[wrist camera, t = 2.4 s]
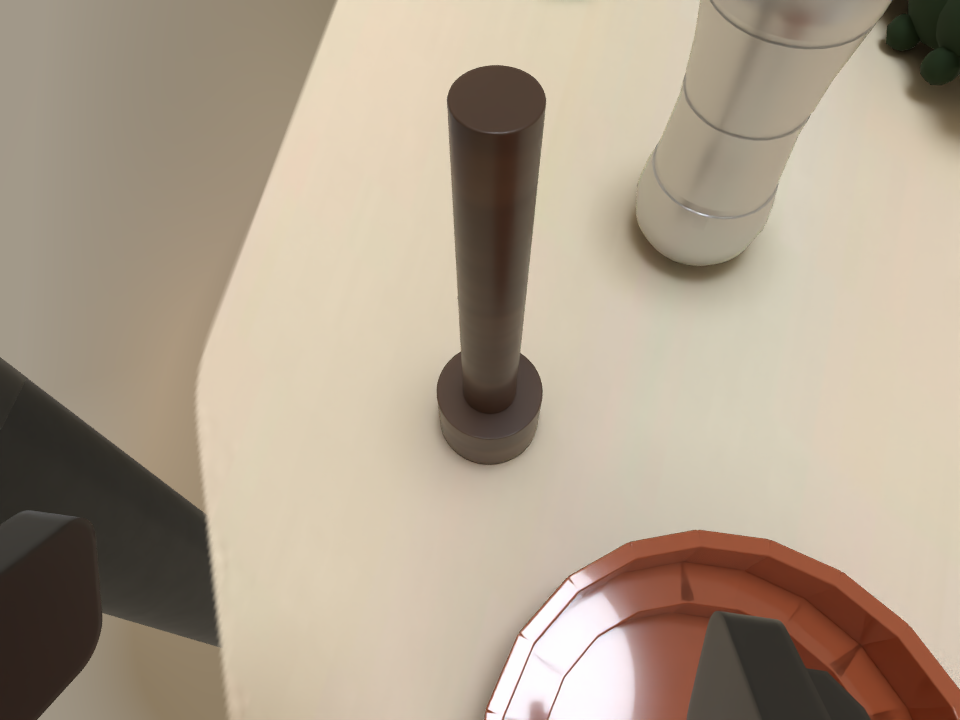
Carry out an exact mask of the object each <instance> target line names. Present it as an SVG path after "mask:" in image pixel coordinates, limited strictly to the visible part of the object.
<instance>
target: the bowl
mask: <svg viewBox="0 0 960 720" xmlns="http://www.w3.org/2000/svg"><path fill="white" fill-rule="evenodd" d="M715 611H722V612H729V613H736V614H743V615H750V616H757V617H764V618H771V619H778V620H780V621H781V622H782V623H783V624H784V626H785V627H786V629H787V631H788V633H789V635H790V637H791V639H792V641H793V643H794V645H795V647H796V649H797V651H798V653H799V655H800V657H801V659H802V661H803V663H804V665H805V667H806V668H808V669H815V670H822V671H827V672H828V673H829V674H830V675H831V676H832V677H833V678H834V679H835V680H836V681H837V682H838V683H839V684H840V685H841V686H842V687H843V688H844V689H845V690H846V691H847V692H848V693H849V694H851V695H852V696H853V697H854V698H855V699H856V700H857V701H858V702H859V703H860V704H861V705H862V706H863V707H864V708H865V710H866V712H867V713H868V715H869V717H870V719H871V720H960V689H959V688H958V687H957V686H956V684H955V683H954V682H953V680H952V679H951V678H950V677H949V675H948V674H947V673H946V671H945V670H944V669H943V668H942V666H941V665H940V664H939V662H938V661H937V660H936V659H935V657H934V656H933V655H932V653H931V652H930V651H929V650H928V648H927V647H926V646H925V644H924V643H923V642H922V641H921V639H920V638H919V637H918V635H917V634H916V633H915V632H914V630H913V629H912V628H911V627H910V626H909V625H908V624H907V623H906V622H905V621H904V620H902V619H901V618H900V617H899V616H897V615H896V614H895V613H894V612H892V611H891V610H890V609H889V608H887V607H886V606H885V605H884V604H882V603H881V602H880V601H879V600H877V599H876V598H875V597H874V596H872V595H871V594H870V593H868V592H867V591H866V590H865V589H863V588H862V587H861V586H860V585H858V584H857V583H856V582H855V581H853V580H852V579H851V578H850V577H848V576H847V575H846V574H845V573H843V572H841V571H840V570H837V569H835V568H833V567H831V566H828V565H826V564H824V563H822V562H819V561H817V560H815V559H813V558H810V557H808V556H806V555H804V554H801V553H799V552H797V551H795V550H792V549H790V548H788V547H786V546H783V545H781V544H779V543H777V542H774V541H772V540H768V539H764V538H756V537H749V536H742V535H734V534H727V533H719V532H712V531H705V530H698V531H697V530H691V531H686V532H680V533H675V534H670V535H664V536H659V537H653V538H648V539H642V540H637V541H631V542H629V543H626V544H624V545H622V546H621V547H619V548H617V549H615V550H614V551H612V552H610V553H608V554H607V555H605V556H603V557H601V558H600V559H598V560H596V561H594V562H593V563H591V564H589V565H587V566H586V567H584V568H582V569H580V570H579V571H577V572H575V573H573V574H572V575H570V576H569V577H568V578H566V579H565V580H564V581H563V583H562V584H561V585H560V586H559V587H558V588H557V589H556V591H555V592H554V593H553V594H552V595H551V596H550V597H549V599H548V600H547V601H546V602H545V603H544V604H543V605H542V607H541V608H540V609H539V610H538V611H537V612H536V613H535V615H534V616H533V617H532V618H531V619H530V620H529V621H528V623H527V624H526V625H525V626H524V627H523V628H522V629H521V631H520V632H519V634H518V635H517V637H516V640H515V642H514V644H513V647H512V649H511V651H510V654H509V656H508V658H507V661H506V663H505V665H504V668H503V670H502V672H501V675H500V677H499V679H498V682H497V684H496V686H495V689H494V691H493V693H492V695H491V698H490V700H489V702H488V705H487V707H486V710H485V715H484V720H687V712H688V707H689V703H690V699H691V694H692V690H693V686H694V681H695V677H696V673H697V668H698V664H699V660H700V656H701V651H702V647H703V643H704V638H705V634H706V630H707V626H708V622H709V620H710V617H711V615H712V614H713V613H714V612H715Z"/></svg>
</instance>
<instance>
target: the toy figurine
mask: <svg viewBox="0 0 960 720" xmlns="http://www.w3.org/2000/svg"><path fill="white" fill-rule="evenodd" d="M920 41H921V42H922V43H924V44H926V45H927V46H929V47H931V48H933V49H935V50H933V51H931V52H929V53H928V55H927V56H926V57H925V58H924V59H923V61H922V63H921V65H920V74H921V75H922V77H923V78H924V79H925V80H926V81H927V82H928V83H929V84H930V85H943V84H945V83H948V82H950V81H952V80H953V79H955V78H956V77H957V76H958V75H960V0H909V1H908V14H901V15H899V16H897V17H895V18H894V20H893V21H892V22H891V23H890V24H889V25H888V26H887V35H886V44H888V45H889V46H890V47H892V48H893V49H896V50H899V51H902V50H909V49H912V48H913V47H915V46H916V45H917V44H918V43H919V42H920Z"/></svg>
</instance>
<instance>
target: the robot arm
mask: <svg viewBox="0 0 960 720" xmlns="http://www.w3.org/2000/svg"><path fill="white" fill-rule="evenodd" d="M101 627H102V606H101V594H100V581H99V569H98V556H97V544H96V534H95V530H94V527H93V525H92V523H91V522H90V521H89V520H87V519H85V518H79V517H72V516H65V515H58V514H51V513H44V512H37V511H30V510H28V511H23V512H20V513H18V514H16V515H14V516H13V517H11V518H10V519H8V520H7V521H5V522H4V523H2V524H1V525H0V720H37V719H38V718H39V717H40V716H41V715H42V713H44V711H45V710H46V709H47V708H48V707H49V706H50V705H51V704H52V703H53V702H54V700H55V699H56V698H57V697H58V696H59V695H60V694H61V693H62V692H63V690H64V689H65V688H66V687H67V686H68V685H69V684H70V683H71V682H72V681H73V679H74V678H75V677H76V676H77V675H78V674H79V673H80V671H82V669H83V668H84V667H85V666H86V664H87V663H88V661H89V660H90V658H91V656H92V654H93V652H94V650H95V648H96V645H97V642H98V640H99V636H100V632H101ZM687 720H871V719H870V717H869V715H868V713H867V712H866V710H865V708H864V707H863V706H862V705H861V704H860V703H859V702H858V701H857V700H856V699H855V698H854V697H853V696H852V695H851V694H849V693H848V692H847V691H846V690H845V689H844V688H843V687H842V686H841V685H840V684H839V683H838V682H837V681H836V680H835V679H834V678H833V677H832V676H831V675H830V674H829V673H828V672H827V671H822V670H815V669H808V668H806V667H805V665H804V663H803V661H802V659H801V657H800V655H799V653H798V651H797V649H796V647H795V645H794V643H793V641H792V639H791V637H790V635H789V633H788V631H787V629H786V627H785V626H784V624H783V623H782V622H781V621H780V620H778V619H771V618H764V617H757V616H750V615H743V614H736V613H729V612H722V611H715V612H714V613H713V614H712V615H711V617H710V620H709V622H708V626H707V630H706V634H705V638H704V643H703V647H702V651H701V656H700V660H699V664H698V668H697V673H696V677H695V681H694V686H693V690H692V694H691V699H690V703H689V707H688V712H687Z"/></svg>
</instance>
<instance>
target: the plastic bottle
mask: <svg viewBox="0 0 960 720" xmlns="http://www.w3.org/2000/svg"><path fill="white" fill-rule="evenodd" d="M891 1H892V0H700V5H699V11H698V18H697V24H696V31H695V37H694V41H693V45H692V49H691V53H690V57H689V61H688V64H687V68H686V74H685V77H684V80H683V84H682V88H681V92H680V95H679V97H678V99H677V102H676V104H675V106H674V109H673V111H672V114H671V116H670V118H669V121H668V123H667V125H666V128H665V130H664V132H663V135H662V137H661V139H660V141H659V143H658V144H657V146H656V147H655V149H654V150H653V152H652V154H651V155H650V157H649V159H648V161H647V163H646V165H645V167H644V169H643V171H642V173H641V175H640V178H639V181H638V184H637V199H636V217H637V222H638V224H639V226H640V229H641V231H642V233H643V234H644V235H645V237H646V238H647V240H648V241H649V242H650V244H651V245H652V246H653V247H654V248H655V249H656V250H657V251H658V252H660V253H661V254H662V255H664V256H665V257H667V258H669V259H671V260H673V261H675V262H678V263H682V264H685V265H692V266H707V265H713V264H718V263H723V262H726V261H728V260H730V259H733V258H735V257H736V256H737V255H739V254H740V253H742V252H743V251H744V250H745V249H746V248H747V247H748V245H749V244H750V243H751V242H752V241H753V240H754V239H755V238H756V237H757V236H758V235H759V233H760V232H761V231H762V230H763V228H764V226H765V224H766V222H767V220H768V217H769V214H770V212H771V209H772V206H773V203H774V200H775V196H776V192H777V187H778V182H779V180H780V177H781V175H782V173H783V170H784V168H785V166H786V163H787V161H788V159H789V156H790V154H791V152H792V149H793V147H794V145H795V142H796V140H797V138H798V135H799V134H800V132H801V130H802V129H803V127H804V126H805V124H806V122H807V121H808V119H809V117H810V115H811V113H812V112H813V111H814V110H815V108H816V106H817V105H818V103H819V102H820V100H821V98H822V97H823V95H824V93H825V92H826V90H827V89H828V87H829V85H830V84H831V82H832V81H833V79H834V78H835V77H836V75H837V74H838V73H839V71H840V70H841V69H842V68H843V66H844V65H845V64H846V62H847V61H848V60H849V58H850V57H851V56H852V54H853V53H854V52H855V51H856V49H857V48H858V47H859V45H860V44H861V43H862V41H863V40H864V39H865V37H866V36H867V35H868V34H869V32H870V31H871V30H872V28H873V27H874V26H875V24H876V22H877V21H878V20H879V19H880V18H881V17H882V15H883V14H884V12H885V11H886V9H887V8H888V6H889V4H890V3H891Z"/></svg>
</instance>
